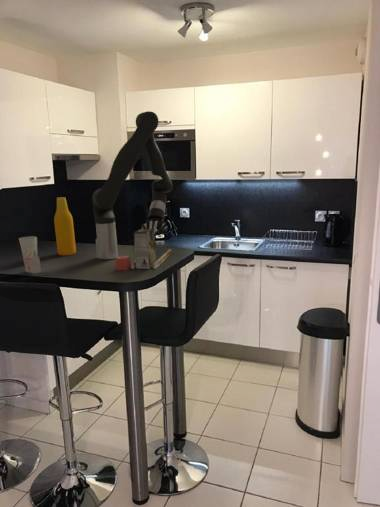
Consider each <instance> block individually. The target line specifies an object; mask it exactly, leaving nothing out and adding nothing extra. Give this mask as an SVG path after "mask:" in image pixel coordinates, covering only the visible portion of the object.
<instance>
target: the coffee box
mask: <svg viewBox="0 0 380 507" xmlns="http://www.w3.org/2000/svg"><path fill="white" fill-rule="evenodd" d="M133 240H134V241H133V242H134V255H135V260H136V267H135V269H146V270H147V269H148V270H150V269H151V268H153V264H154V263H155V262H156V261H157V256H156V254H157V253H156V243H155V242H156V237H154V229H149V228H146V229H142V228H140V229H138V230H135V231H134V232H133Z"/></svg>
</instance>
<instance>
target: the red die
mask: <svg viewBox="0 0 380 507" xmlns="http://www.w3.org/2000/svg"><path fill="white" fill-rule="evenodd" d="M114 259H115V260H114V261H115V262H114V263H115V270H116V271H128V270H129V269H131V263H132V261H131V256H130V255H118V257H117V258H114Z"/></svg>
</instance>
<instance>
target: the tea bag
mask: <svg viewBox="0 0 380 507" xmlns="http://www.w3.org/2000/svg"><path fill="white" fill-rule="evenodd" d="M23 264H24V271H25V273H29V274H31V275H34V274H39V273H42V266H41V259H40V257H39V255H38V253H37V254H36V252H35V250H31V249H26V253H25V256H24V259H23Z"/></svg>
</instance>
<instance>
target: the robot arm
mask: <svg viewBox="0 0 380 507" xmlns="http://www.w3.org/2000/svg"><path fill="white" fill-rule="evenodd" d="M159 122H160V121H159V116H158V115H157V113H155V112H154V111H150V110H149V111H144V112H141V113H138V114H137V116H136V118H135V126H136V129H135V131H134V133H133V134H132V136H131V137H129V138H128V140H126V142H125V143H124V144H123V145H122V147H121V148H120V149H119V151H118V152H117V155H116V157H115V158H114V160H113V163H112V165H111V168H110V172H109V175H108V177H107V180H106V181H105V183H104V184H103V186H102V187H101V188H98V189H96V190H95V191H94V192H93V194H92V208H93V216H94V221H95V228H96V238H95V248H96V258H97V259H98V260H112V259H115V258H117V257H118V256H119V251H118V238H117V229H116V228H117V227H116V216H115V214H114V209H113V206H114V204H115V203H116V200H117V197H118V195H119V193H120V191H121V188H122V186H124V185H123V184H124V183H125V181H126V180H127V178H129V177H128V176H129V175H130V173H131V172H132V170H133V169H134V167H135V165H136V164H137V161H138V160H139V157H140V156H141V154H142V153H143V150H144V149H145V153H146V155H147V156H146V157H147V160H148V164H149V168H150V171H151V174H152V175H153V176H157V177H160V178H159V179H156V180H153V181H152V182H151V190H152V194H151V195H152V200H151V203H150V206H149V210H148V215H147V220H146V221H145V223H142V224H140V226H141V229H154V237H155V238H156V237H157V236H161V235H162V234H163V233H164V232H165V231H166V230H167V229H168V226H167V224H166V223H165V222H164V220H165V219H164V218H165V214H166V207H167V206H166V204H167V201H168V200H167V199H168V197H167V194H168V193H170V192H171V191H172V190H173V187H174V186H173V185H174V184H173V182H172V178H170V176H169V174H168V172H167V169H166V167H165V162H164V158H163V155H162V152H161V151H160V148H159V146H158V144H157V142H156V140H155V133H154V132H155V131H156V130H157V128H158V127H159ZM166 193H167V194H166Z"/></svg>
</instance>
